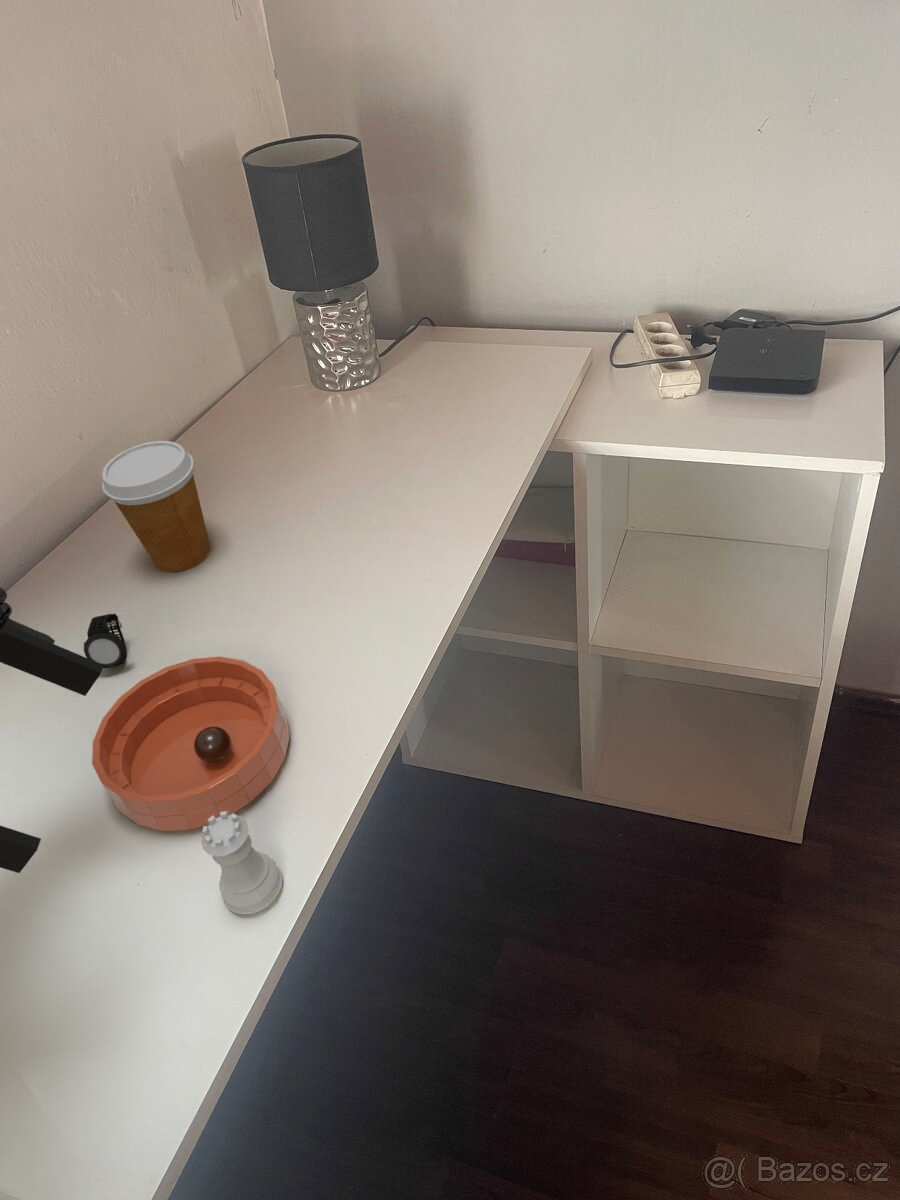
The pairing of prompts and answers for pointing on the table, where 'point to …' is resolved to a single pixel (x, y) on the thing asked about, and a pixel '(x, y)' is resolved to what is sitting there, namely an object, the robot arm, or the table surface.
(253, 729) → the bowl
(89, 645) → the smartwatch
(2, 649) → the robot arm
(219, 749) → the bead
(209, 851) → the rook chess piece
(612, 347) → the table surface
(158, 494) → the disposable coffee cup
